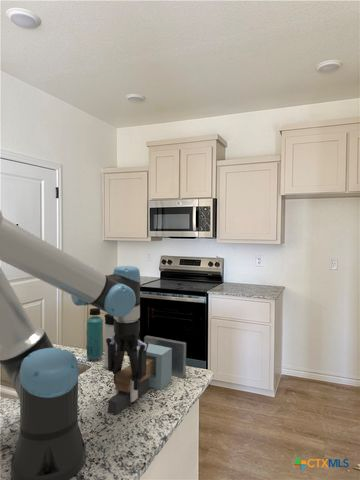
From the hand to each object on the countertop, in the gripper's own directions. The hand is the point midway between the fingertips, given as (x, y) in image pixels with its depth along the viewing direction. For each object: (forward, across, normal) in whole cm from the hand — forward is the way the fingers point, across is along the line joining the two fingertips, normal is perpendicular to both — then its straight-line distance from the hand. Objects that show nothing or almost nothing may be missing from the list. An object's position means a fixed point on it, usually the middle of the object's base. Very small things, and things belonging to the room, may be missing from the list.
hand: (126, 397), depth 98 cm
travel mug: (+2, +19, -18) cm, 27 cm away
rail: (+2, 0, -2) cm, 3 cm away
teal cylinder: (+2, +30, -21) cm, 37 cm away
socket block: (+2, 0, -15) cm, 15 cm away
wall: (+2, 0, -23) cm, 23 cm away
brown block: (-3, 0, -4) cm, 5 cm away
